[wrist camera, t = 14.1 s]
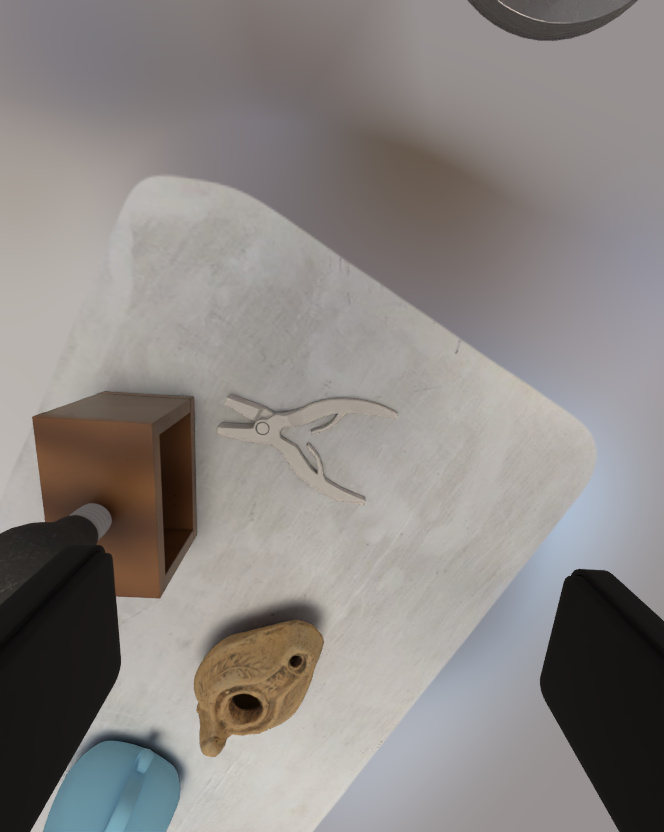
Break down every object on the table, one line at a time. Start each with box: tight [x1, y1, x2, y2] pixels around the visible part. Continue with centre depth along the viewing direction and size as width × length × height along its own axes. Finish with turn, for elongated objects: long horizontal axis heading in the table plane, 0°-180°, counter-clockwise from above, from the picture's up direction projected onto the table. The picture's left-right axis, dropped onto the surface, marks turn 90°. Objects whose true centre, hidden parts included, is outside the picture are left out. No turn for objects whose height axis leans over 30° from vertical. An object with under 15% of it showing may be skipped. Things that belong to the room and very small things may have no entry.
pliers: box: [217, 394, 398, 505], centre depth 36 cm, size 10×2×15 cm
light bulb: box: [0, 503, 112, 605], centre depth 24 cm, size 6×6×10 cm
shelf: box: [32, 391, 197, 598], centre depth 33 cm, size 14×8×9 cm, turn 176°
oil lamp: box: [194, 620, 324, 757], centre depth 39 cm, size 11×15×8 cm
